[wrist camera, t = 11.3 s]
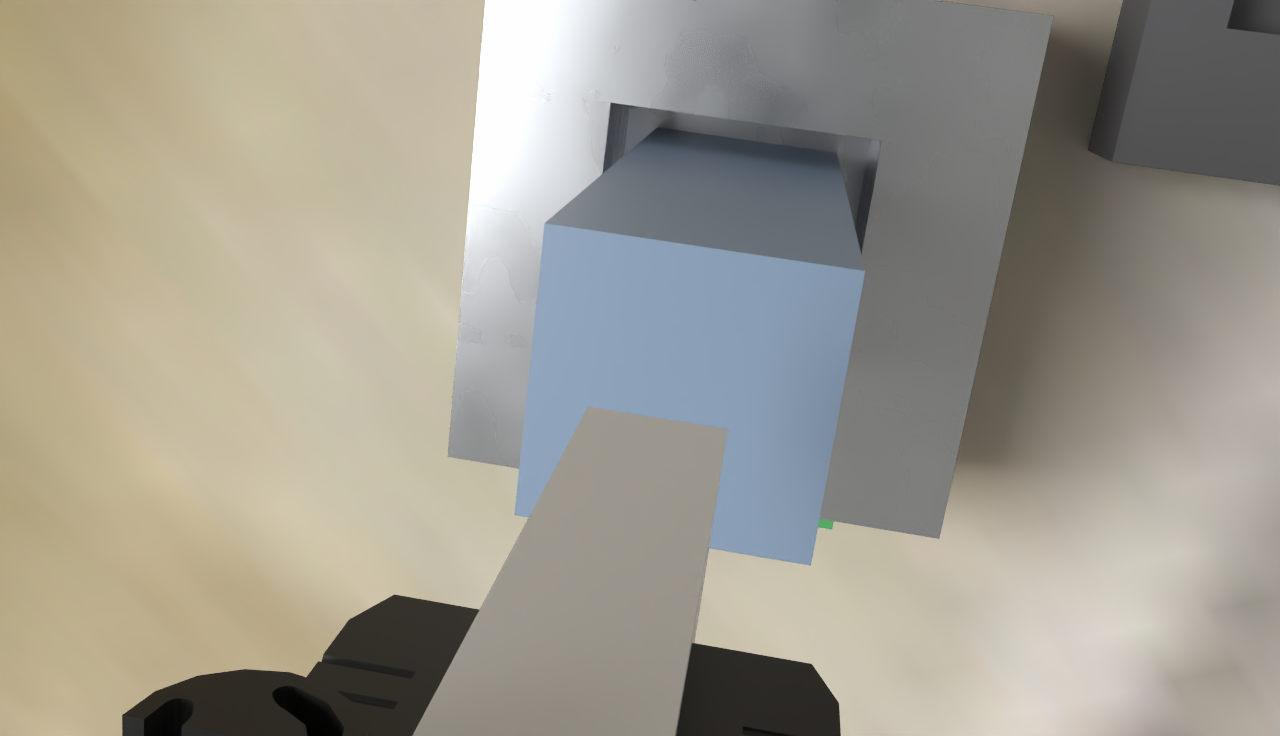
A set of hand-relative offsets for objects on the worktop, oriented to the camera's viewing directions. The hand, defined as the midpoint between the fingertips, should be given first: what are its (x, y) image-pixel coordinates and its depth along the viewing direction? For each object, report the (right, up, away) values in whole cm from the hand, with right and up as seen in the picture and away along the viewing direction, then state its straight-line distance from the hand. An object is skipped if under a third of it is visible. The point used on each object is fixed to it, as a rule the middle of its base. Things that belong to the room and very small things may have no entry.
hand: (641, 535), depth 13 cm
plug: (+2, +5, +18) cm, 19 cm away
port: (+3, +6, +19) cm, 20 cm away
